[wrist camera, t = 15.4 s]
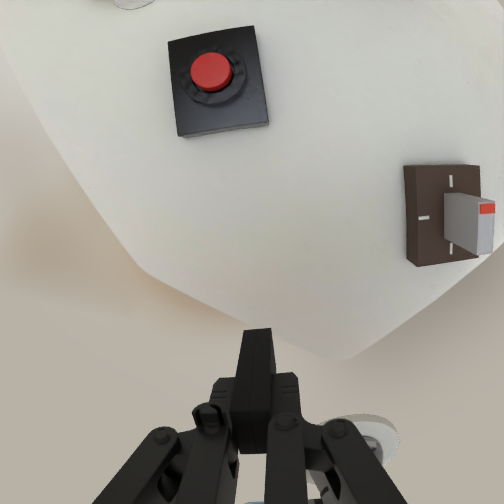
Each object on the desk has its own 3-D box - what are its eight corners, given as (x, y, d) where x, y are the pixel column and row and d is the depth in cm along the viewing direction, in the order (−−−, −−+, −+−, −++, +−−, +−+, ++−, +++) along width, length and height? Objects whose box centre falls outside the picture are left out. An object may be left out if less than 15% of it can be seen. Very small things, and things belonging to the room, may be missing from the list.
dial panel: (465, 250, 37) (479, 258, 33) (406, 258, 38) (417, 267, 34) (465, 164, 34) (480, 165, 30) (403, 165, 35) (415, 166, 31)
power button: (234, 87, 29) (232, 84, 28) (196, 94, 30) (192, 91, 28) (229, 54, 28) (227, 49, 27) (192, 61, 29) (188, 56, 27)
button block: (268, 125, 35) (268, 119, 30) (185, 138, 36) (172, 135, 31) (255, 35, 31) (252, 18, 27) (175, 49, 32) (162, 36, 28)
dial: (458, 236, 33) (493, 253, 26) (443, 238, 33) (477, 256, 26) (458, 192, 32) (496, 201, 24) (443, 193, 32) (479, 202, 24)
